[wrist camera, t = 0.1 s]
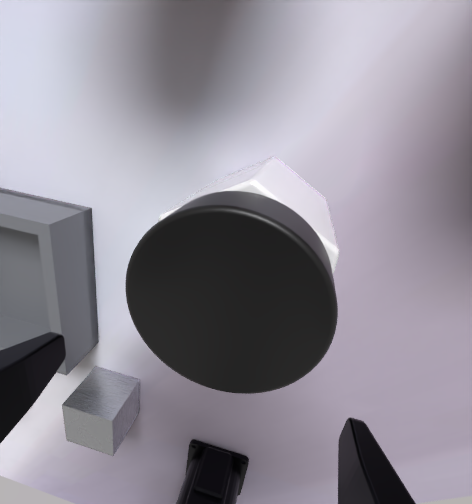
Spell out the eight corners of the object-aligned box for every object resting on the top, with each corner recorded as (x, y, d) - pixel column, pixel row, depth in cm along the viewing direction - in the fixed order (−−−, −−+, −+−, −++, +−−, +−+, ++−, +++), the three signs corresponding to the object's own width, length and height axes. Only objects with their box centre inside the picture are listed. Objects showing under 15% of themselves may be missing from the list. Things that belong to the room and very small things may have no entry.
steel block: (139, 411, 34) (113, 456, 29) (98, 398, 34) (66, 440, 30) (140, 378, 32) (112, 421, 27) (96, 365, 32) (62, 405, 28)
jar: (231, 283, 25) (171, 408, 14) (188, 189, 22) (77, 250, 12) (343, 252, 22) (378, 381, 11) (308, 140, 19) (308, 162, 9)
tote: (98, 341, 31) (66, 375, 27) (-21, 307, 32) (-68, 334, 28) (91, 208, 25) (49, 224, 21) (-54, 176, 27) (-118, 185, 23)
